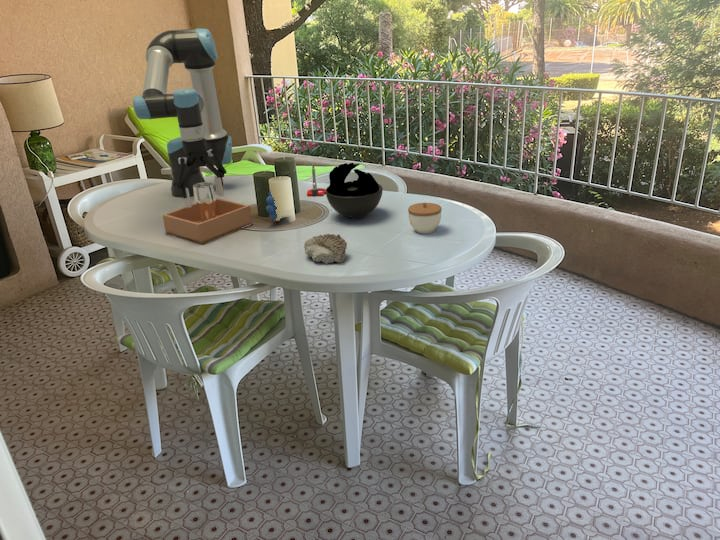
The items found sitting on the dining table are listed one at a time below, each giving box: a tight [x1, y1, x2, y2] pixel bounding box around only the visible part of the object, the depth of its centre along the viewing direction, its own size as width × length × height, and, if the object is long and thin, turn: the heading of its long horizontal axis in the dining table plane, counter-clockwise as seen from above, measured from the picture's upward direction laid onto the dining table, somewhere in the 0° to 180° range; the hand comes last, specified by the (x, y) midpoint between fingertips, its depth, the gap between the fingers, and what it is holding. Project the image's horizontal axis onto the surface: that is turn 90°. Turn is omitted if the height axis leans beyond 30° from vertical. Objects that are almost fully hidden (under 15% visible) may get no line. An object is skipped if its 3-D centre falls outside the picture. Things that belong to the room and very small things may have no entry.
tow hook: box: [306, 163, 327, 197], centre depth 224 cm, size 8×13×9 cm
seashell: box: [303, 233, 348, 265], centre depth 164 cm, size 14×9×10 cm
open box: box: [161, 197, 253, 246], centre depth 192 cm, size 22×20×7 cm
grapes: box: [265, 190, 277, 221], centre depth 194 cm, size 12×7×12 cm, turn 160°
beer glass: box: [193, 181, 217, 222], centre depth 191 cm, size 7×7×15 cm
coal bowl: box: [325, 162, 384, 219], centre depth 194 cm, size 20×20×19 cm
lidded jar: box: [407, 201, 443, 234], centre depth 179 cm, size 11×11×9 cm
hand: (204, 200), depth 190 cm, fingers open, 13 cm apart
